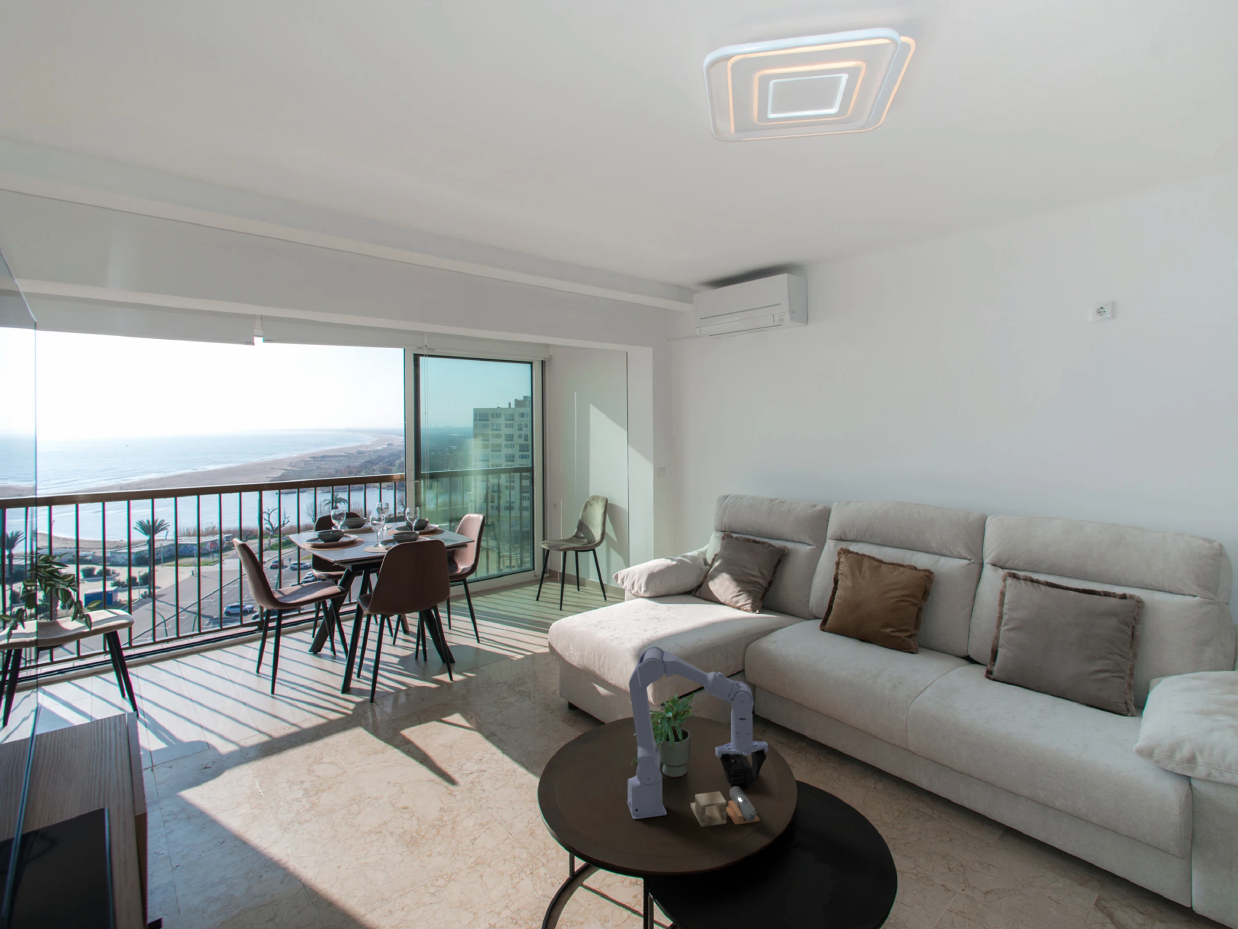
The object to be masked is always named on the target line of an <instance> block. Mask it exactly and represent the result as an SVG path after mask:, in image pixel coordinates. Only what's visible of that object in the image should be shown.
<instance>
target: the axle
mask: <svg viewBox="0 0 1238 929" xmlns="http://www.w3.org/2000/svg"><path fill="white" fill-rule="evenodd" d="M728 793H729V796H730V798H731V801H732V800H733V801H734V803H735V804H736V806H737V807H738V809H739V810H740V812H741V814H742V815H743V817H744V818H745V819H746V820H748V821H751V820H753V819H754V818H755V817H756V815H757V810H756V808H755V807H754V805H753V804H752V802H751V801H750V800H749V798H748V797H747V796H746V794H745V792H744V791H743V789H741V788H740V787H738V786H734V787H732V788H731V787H730V789H729V792H728Z"/></svg>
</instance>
